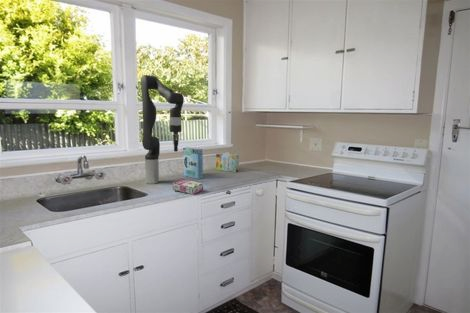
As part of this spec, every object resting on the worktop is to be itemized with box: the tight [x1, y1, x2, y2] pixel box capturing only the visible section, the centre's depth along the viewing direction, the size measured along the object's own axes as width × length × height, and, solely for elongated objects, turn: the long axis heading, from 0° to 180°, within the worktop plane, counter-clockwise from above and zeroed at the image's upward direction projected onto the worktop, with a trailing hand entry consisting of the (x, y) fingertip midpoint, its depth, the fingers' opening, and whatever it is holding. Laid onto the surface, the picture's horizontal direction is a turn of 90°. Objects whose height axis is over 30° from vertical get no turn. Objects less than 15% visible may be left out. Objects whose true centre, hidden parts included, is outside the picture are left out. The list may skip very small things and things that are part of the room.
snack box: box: [215, 152, 240, 173], centre depth 270 cm, size 21×6×15 cm, turn 58°
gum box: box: [182, 146, 204, 180], centre depth 241 cm, size 20×5×23 cm, turn 45°
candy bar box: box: [172, 178, 204, 195], centre depth 197 cm, size 11×5×16 cm
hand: (175, 151), depth 198 cm, fingers closed
